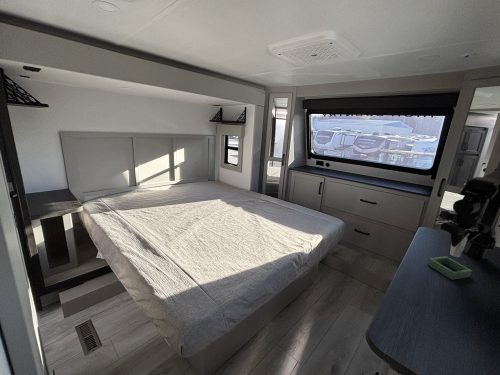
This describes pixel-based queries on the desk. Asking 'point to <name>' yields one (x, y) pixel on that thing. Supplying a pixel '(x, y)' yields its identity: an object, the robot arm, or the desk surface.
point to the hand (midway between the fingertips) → (457, 245)
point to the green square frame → (460, 273)
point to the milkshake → (458, 248)
